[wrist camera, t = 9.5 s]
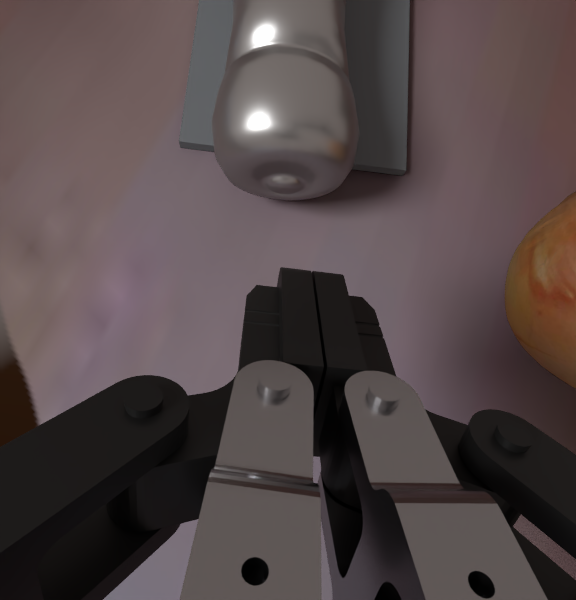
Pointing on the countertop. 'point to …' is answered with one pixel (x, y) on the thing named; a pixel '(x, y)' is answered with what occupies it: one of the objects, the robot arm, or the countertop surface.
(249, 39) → the plastic bottle
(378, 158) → the mat
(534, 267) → the onion
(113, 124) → the countertop surface
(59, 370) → the countertop surface
